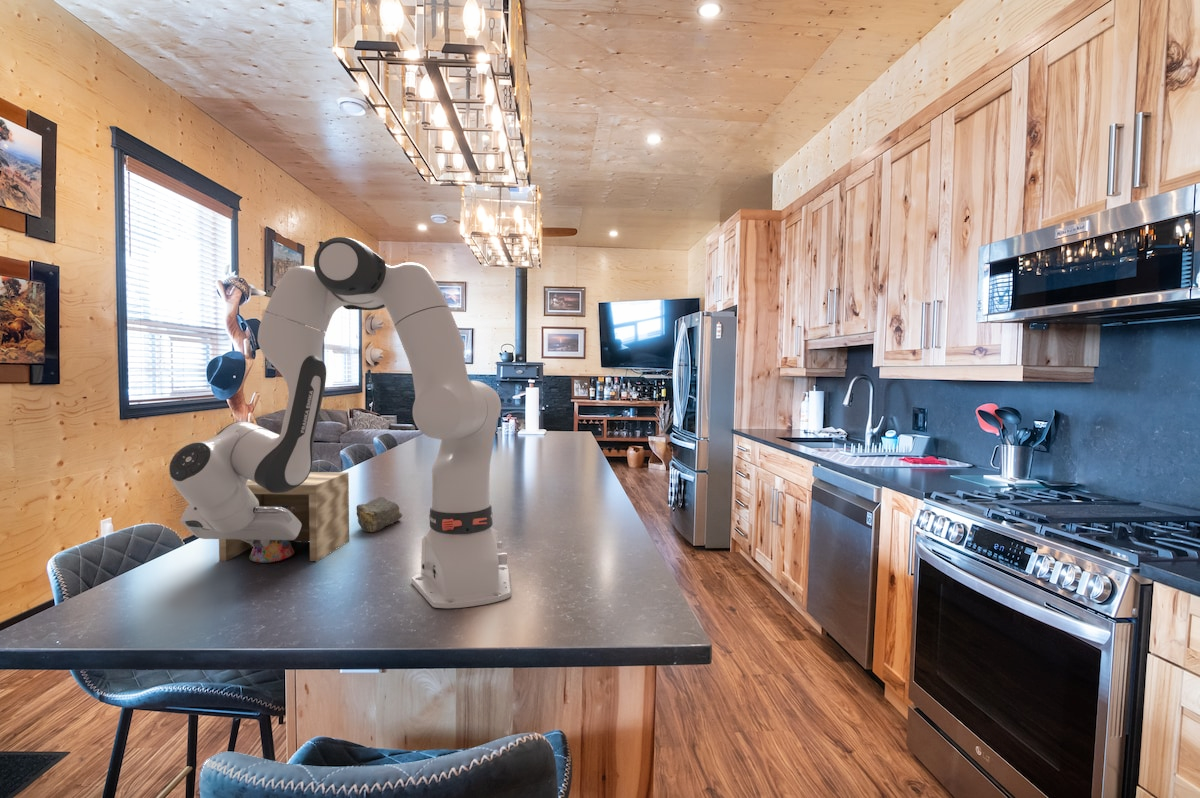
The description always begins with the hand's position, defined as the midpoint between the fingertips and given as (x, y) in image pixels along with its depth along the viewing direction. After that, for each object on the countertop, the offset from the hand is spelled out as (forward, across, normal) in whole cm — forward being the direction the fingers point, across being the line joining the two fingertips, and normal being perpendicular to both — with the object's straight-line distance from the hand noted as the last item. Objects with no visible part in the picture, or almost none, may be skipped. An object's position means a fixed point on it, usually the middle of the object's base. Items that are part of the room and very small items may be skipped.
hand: (261, 543), depth 122 cm
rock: (+25, -13, -19) cm, 34 cm away
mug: (+7, 0, 0) cm, 7 cm away
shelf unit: (+9, 0, -3) cm, 10 cm away
